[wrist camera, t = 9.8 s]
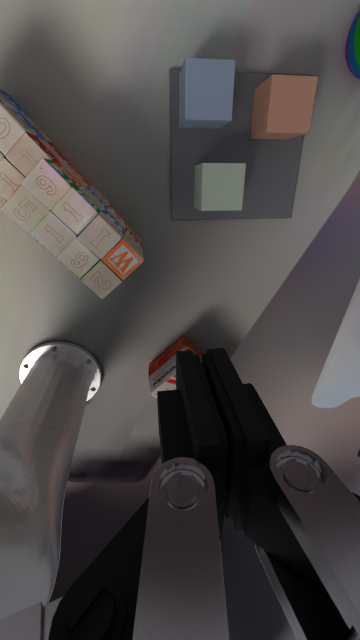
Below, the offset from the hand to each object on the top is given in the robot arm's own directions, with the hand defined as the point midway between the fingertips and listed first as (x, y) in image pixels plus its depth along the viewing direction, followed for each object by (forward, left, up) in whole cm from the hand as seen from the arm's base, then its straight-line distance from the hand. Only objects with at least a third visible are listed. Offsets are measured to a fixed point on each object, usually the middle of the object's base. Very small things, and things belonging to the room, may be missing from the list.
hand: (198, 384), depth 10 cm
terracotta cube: (+14, -15, -33) cm, 39 cm away
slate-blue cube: (+15, -6, -33) cm, 36 cm away
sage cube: (+6, -8, -33) cm, 34 cm away
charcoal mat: (+10, -11, -33) cm, 36 cm away
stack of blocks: (+5, +11, -34) cm, 36 cm away
